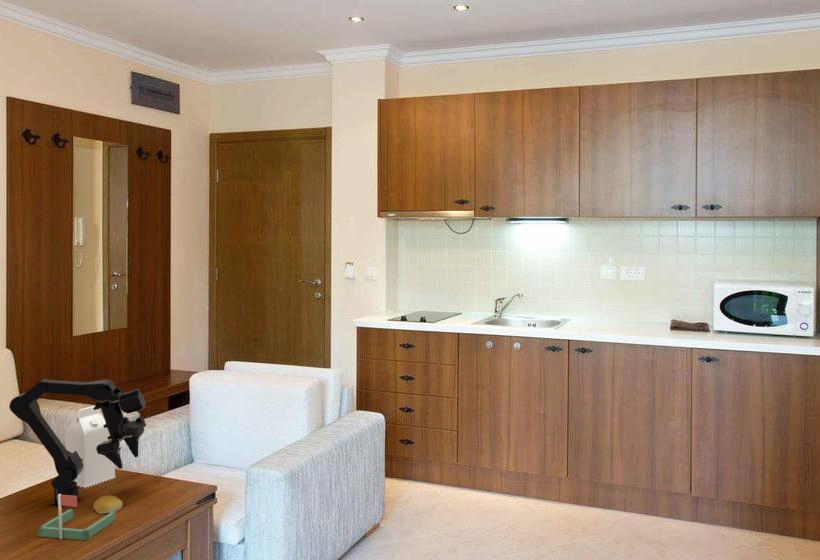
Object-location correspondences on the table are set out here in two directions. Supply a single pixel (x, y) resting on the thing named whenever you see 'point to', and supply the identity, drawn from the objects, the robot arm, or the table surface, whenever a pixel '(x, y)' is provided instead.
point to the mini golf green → (67, 533)
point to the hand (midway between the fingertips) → (129, 462)
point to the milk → (89, 447)
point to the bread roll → (107, 504)
